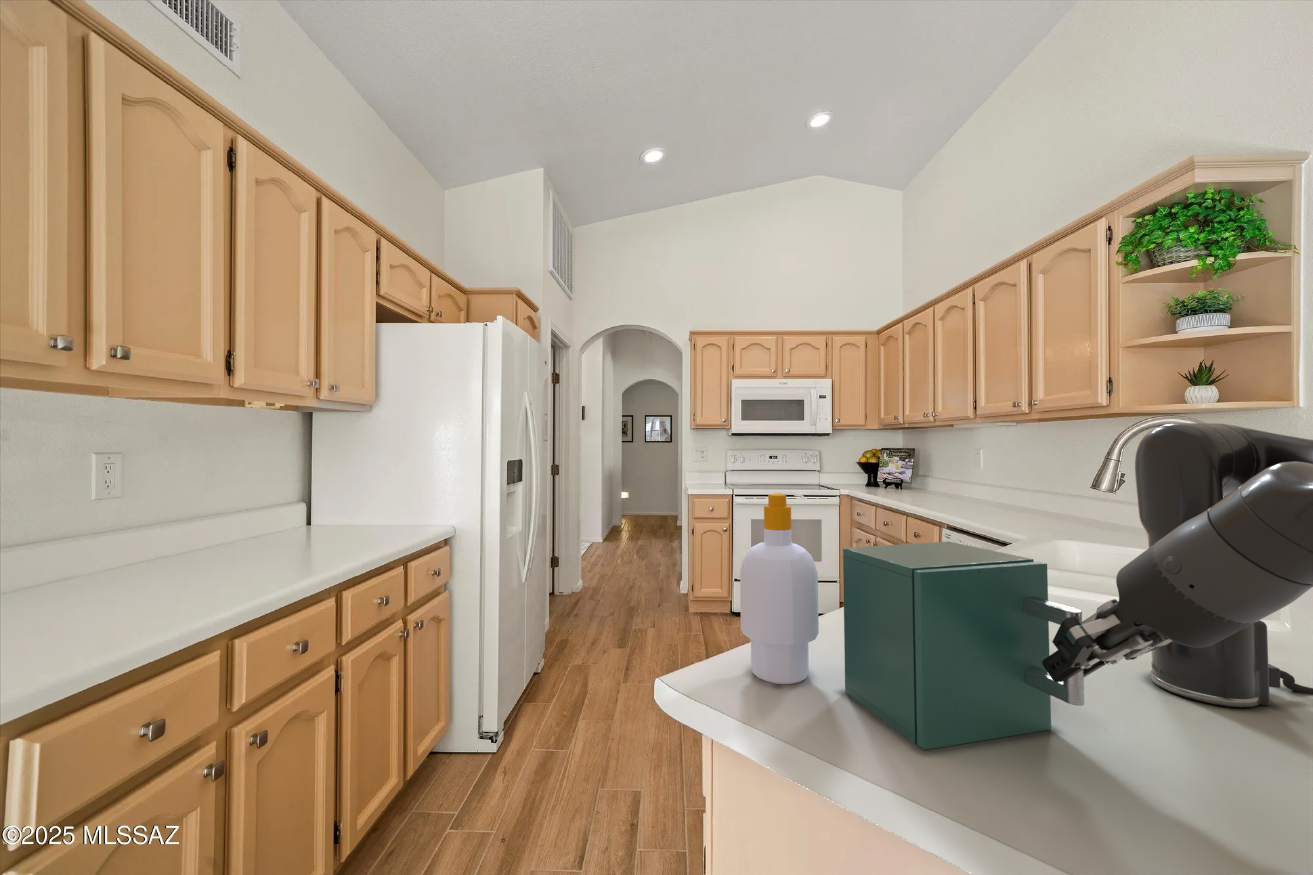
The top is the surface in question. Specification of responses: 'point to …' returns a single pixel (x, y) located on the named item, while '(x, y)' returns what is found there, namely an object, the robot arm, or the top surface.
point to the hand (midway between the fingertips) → (1060, 670)
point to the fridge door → (986, 653)
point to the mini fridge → (893, 621)
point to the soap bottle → (779, 599)
